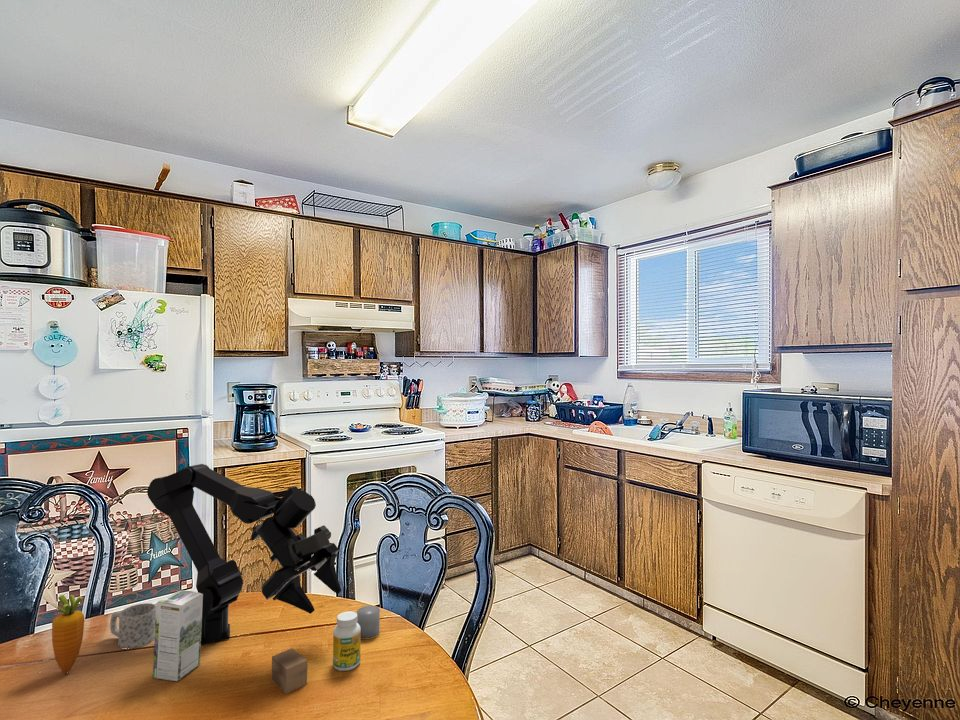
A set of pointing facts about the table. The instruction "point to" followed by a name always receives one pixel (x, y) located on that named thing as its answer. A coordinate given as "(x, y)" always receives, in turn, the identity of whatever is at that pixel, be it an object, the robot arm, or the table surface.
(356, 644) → the supplement bottle
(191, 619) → the syrup box
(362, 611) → the gray capsule
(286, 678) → the walnut block
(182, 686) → the table surface
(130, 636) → the mug
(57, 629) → the carrot
